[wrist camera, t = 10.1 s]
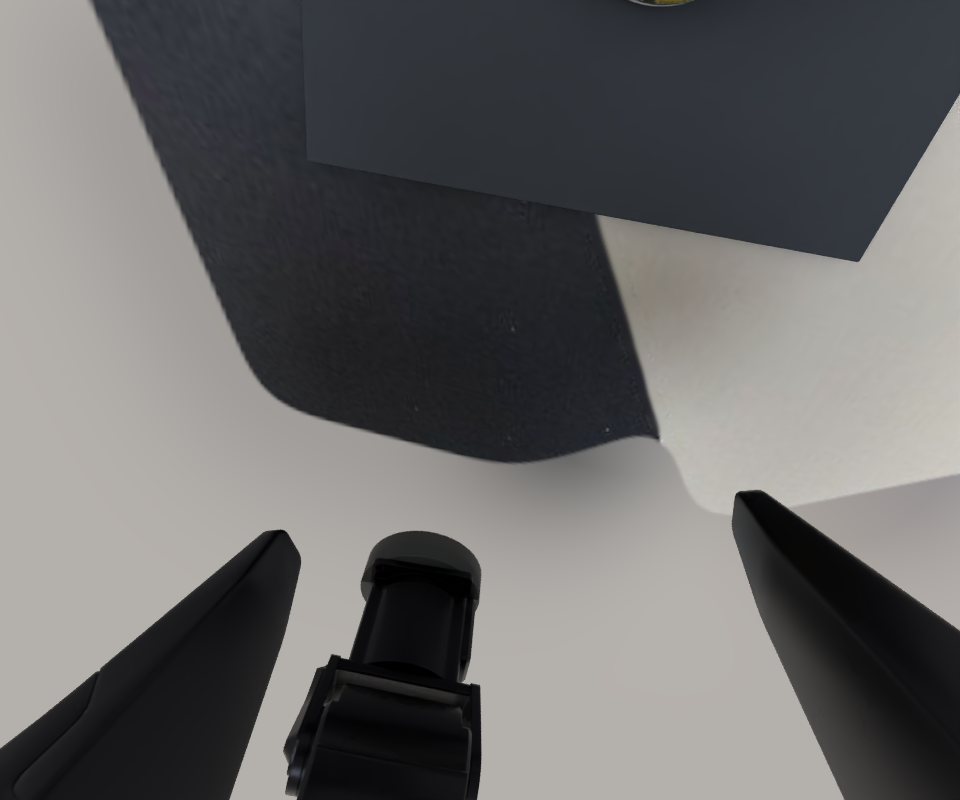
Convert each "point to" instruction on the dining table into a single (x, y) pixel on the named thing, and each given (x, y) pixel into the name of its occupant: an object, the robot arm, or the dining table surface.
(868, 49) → the left mat
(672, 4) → the pill bottle
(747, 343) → the dining table surface
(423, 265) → the dining table surface
